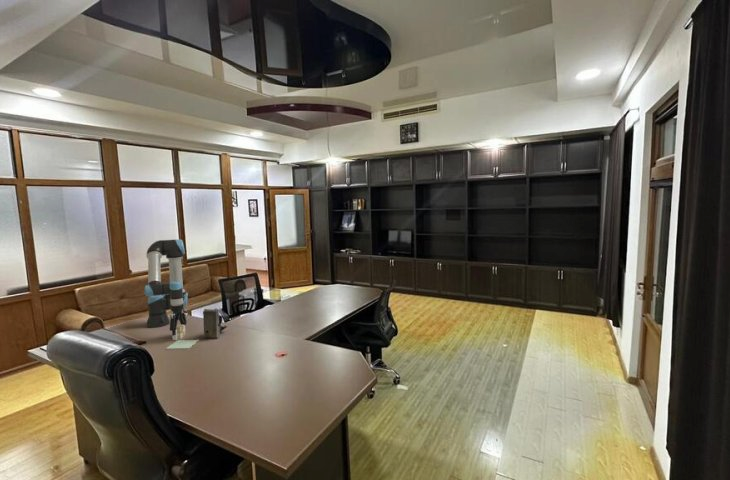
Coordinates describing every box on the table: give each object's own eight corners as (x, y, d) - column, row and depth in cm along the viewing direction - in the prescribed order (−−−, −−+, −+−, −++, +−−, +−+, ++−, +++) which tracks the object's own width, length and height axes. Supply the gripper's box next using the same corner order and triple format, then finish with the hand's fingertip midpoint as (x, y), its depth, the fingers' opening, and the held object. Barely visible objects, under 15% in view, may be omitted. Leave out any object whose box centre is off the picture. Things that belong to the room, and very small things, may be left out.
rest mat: (177, 340, 225) (177, 340, 225) (199, 340, 225) (199, 339, 225) (165, 349, 211) (165, 348, 211) (188, 348, 211) (188, 347, 211)
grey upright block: (229, 331, 242) (227, 304, 241) (217, 339, 226) (215, 309, 226) (216, 332, 243) (214, 304, 242) (203, 339, 227) (202, 309, 227)
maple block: (177, 336, 234) (176, 324, 234) (184, 336, 234) (184, 324, 234) (173, 338, 229) (172, 327, 229) (180, 338, 229) (180, 326, 229)
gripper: (180, 300, 241) (182, 331, 243) (161, 309, 219) (164, 343, 221) (190, 300, 241) (192, 331, 243) (173, 308, 219) (175, 342, 221)
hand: (179, 337), depth 232 cm, fingers open, 9 cm apart
